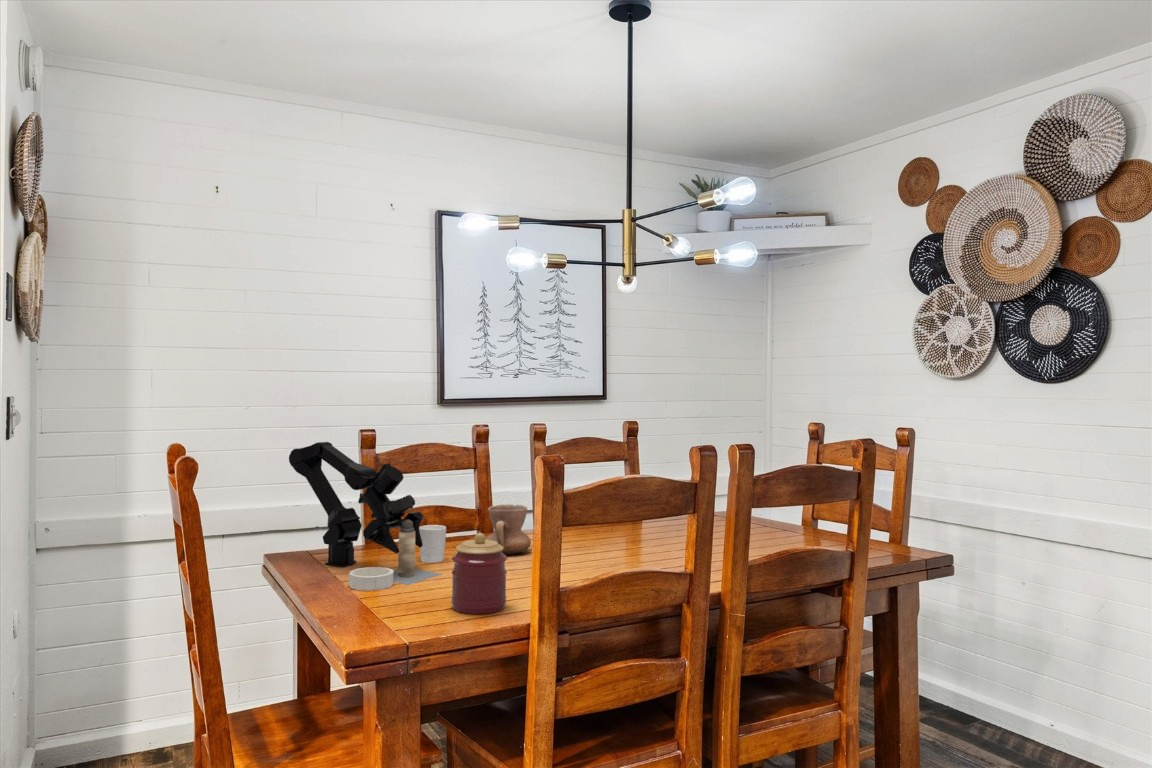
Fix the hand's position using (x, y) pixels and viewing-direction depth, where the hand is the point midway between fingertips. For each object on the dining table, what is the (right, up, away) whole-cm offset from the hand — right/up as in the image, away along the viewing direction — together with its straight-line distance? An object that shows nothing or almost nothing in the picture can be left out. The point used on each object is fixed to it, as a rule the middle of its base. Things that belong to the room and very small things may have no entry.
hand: (409, 549), depth 217 cm
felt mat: (-1, -7, +1) cm, 8 cm away
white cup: (+3, -8, +20) cm, 21 cm away
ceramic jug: (+23, -8, +33) cm, 41 cm away
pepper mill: (-1, -7, +1) cm, 7 cm away
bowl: (-8, -7, -10) cm, 15 cm away
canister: (+22, -8, -27) cm, 36 cm away
